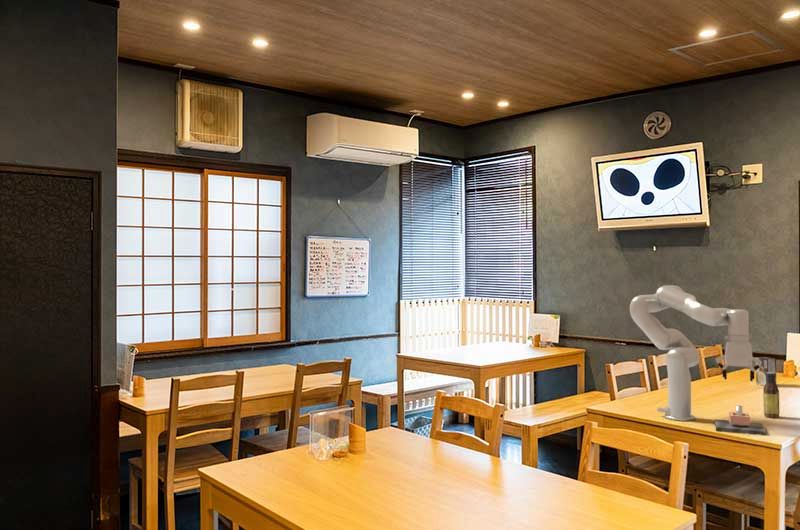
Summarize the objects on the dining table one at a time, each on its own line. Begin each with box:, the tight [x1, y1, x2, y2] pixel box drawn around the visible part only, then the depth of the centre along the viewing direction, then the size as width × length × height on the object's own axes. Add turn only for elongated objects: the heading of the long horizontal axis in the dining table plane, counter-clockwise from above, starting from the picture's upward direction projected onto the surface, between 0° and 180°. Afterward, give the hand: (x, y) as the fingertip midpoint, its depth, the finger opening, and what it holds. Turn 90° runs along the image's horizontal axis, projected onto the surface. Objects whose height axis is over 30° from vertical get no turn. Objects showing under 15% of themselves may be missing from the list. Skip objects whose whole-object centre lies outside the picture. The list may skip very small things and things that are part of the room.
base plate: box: [714, 419, 767, 436], centre depth 273 cm, size 18×16×2 cm
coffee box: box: [755, 356, 777, 386], centre depth 380 cm, size 9×6×16 cm
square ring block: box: [728, 411, 751, 425], centre depth 273 cm, size 7×7×4 cm
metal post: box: [731, 405, 747, 427], centre depth 273 cm, size 6×6×8 cm
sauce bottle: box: [762, 372, 780, 419], centre depth 296 cm, size 7×6×20 cm
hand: (738, 380), depth 273 cm, fingers open, 9 cm apart
